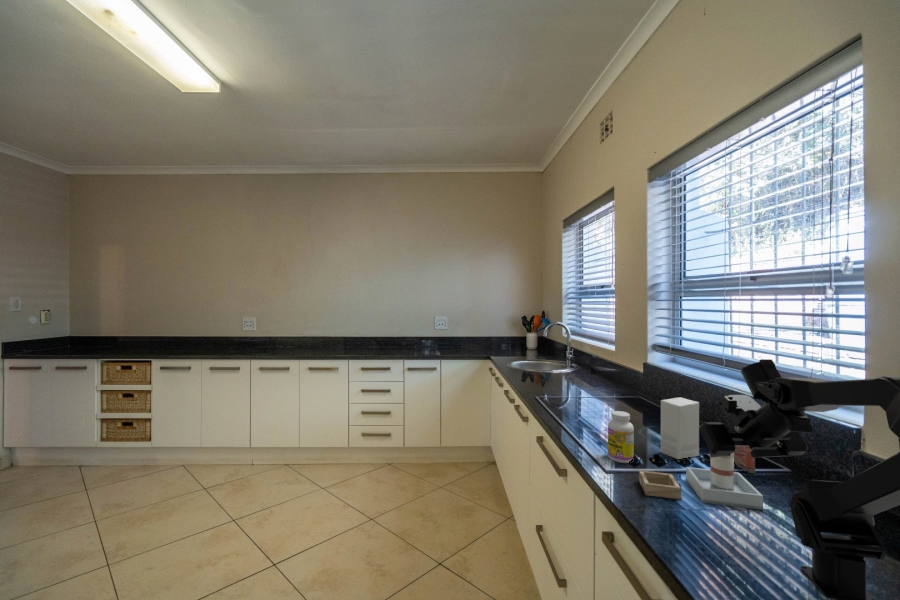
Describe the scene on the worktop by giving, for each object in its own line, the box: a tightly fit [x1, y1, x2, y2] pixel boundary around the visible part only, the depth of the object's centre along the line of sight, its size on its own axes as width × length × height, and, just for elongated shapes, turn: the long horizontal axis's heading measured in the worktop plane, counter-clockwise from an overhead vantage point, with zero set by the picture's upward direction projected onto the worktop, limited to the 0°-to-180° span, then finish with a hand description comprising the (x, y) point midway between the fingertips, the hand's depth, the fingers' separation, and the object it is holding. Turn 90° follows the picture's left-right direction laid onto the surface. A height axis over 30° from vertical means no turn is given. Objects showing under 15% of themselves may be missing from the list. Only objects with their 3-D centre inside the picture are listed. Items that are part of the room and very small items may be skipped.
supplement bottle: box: [607, 410, 635, 464], centre depth 106 cm, size 7×7×13 cm
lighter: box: [734, 426, 757, 474], centre depth 102 cm, size 8×3×10 cm, turn 168°
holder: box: [638, 469, 682, 500], centre depth 89 cm, size 7×7×2 cm
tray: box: [685, 466, 764, 511], centre depth 87 cm, size 11×11×3 cm
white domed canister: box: [709, 452, 735, 491], centre depth 87 cm, size 4×4×10 cm
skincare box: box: [660, 396, 700, 460], centre depth 109 cm, size 8×7×16 cm
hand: (731, 455), depth 84 cm, fingers open, 9 cm apart
